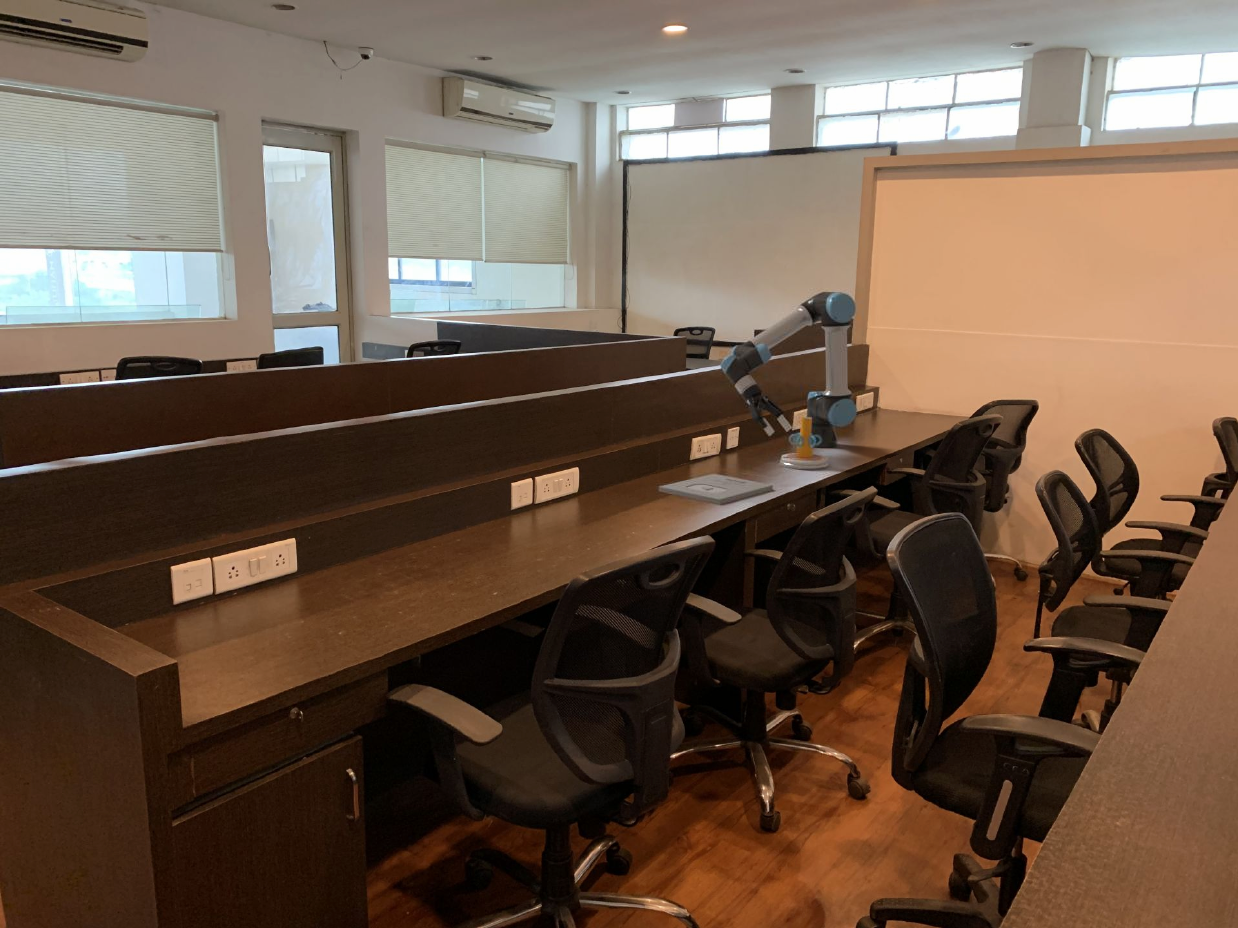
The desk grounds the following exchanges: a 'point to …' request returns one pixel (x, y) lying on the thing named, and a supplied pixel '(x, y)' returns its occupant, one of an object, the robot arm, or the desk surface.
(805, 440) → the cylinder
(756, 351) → the robot arm
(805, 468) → the base
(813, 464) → the platter
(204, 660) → the desk surface
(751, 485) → the award plaque
